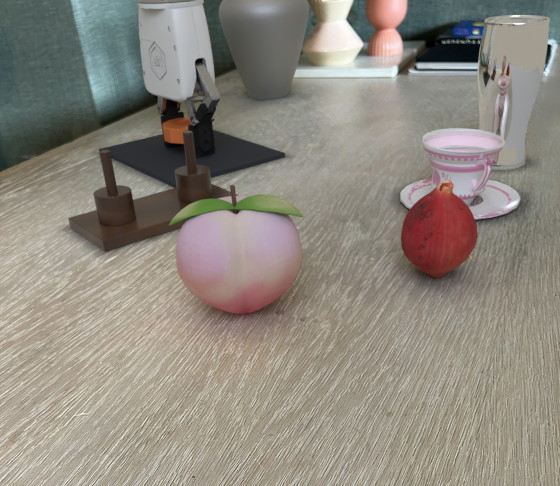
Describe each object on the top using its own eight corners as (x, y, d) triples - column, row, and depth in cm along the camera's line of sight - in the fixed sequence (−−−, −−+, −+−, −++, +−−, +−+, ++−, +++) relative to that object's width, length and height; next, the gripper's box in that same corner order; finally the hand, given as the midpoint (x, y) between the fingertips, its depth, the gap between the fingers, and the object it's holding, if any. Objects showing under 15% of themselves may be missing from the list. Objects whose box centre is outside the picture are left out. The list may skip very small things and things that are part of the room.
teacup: (379, 192, 72) (381, 133, 69) (476, 175, 75) (483, 118, 72) (436, 231, 63) (442, 164, 59) (545, 210, 66) (556, 146, 62)
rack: (70, 229, 68) (52, 150, 63) (204, 190, 75) (196, 118, 71) (105, 252, 62) (87, 169, 58) (245, 208, 70) (239, 131, 66)
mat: (99, 153, 90) (98, 148, 89) (200, 129, 98) (200, 125, 97) (175, 188, 76) (174, 183, 76) (285, 157, 84) (285, 152, 84)
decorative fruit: (294, 281, 55) (290, 160, 50) (312, 331, 49) (309, 197, 43) (181, 294, 55) (163, 171, 49) (183, 345, 48) (163, 211, 42)
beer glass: (505, 175, 75) (526, 25, 66) (454, 163, 79) (468, 20, 71) (541, 161, 78) (565, 16, 70) (490, 150, 83) (508, 13, 74)
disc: (156, 137, 86) (153, 123, 85) (195, 128, 89) (194, 114, 88) (180, 146, 82) (178, 131, 81) (220, 136, 85) (219, 122, 84)
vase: (208, 100, 113) (190, -78, 99) (261, 84, 122) (252, -81, 108) (276, 109, 106) (267, -83, 92) (327, 91, 115) (326, -86, 101)
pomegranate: (417, 298, 52) (425, 198, 47) (387, 268, 57) (391, 174, 52) (484, 286, 53) (498, 187, 49) (449, 257, 58) (459, 164, 53)
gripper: (106, -9, 80) (132, 144, 91) (180, -3, 69) (200, 171, 79) (161, -15, 84) (180, 132, 94) (239, -10, 73) (252, 157, 83)
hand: (189, 149), depth 87 cm, fingers closed on disc, 6 cm apart
